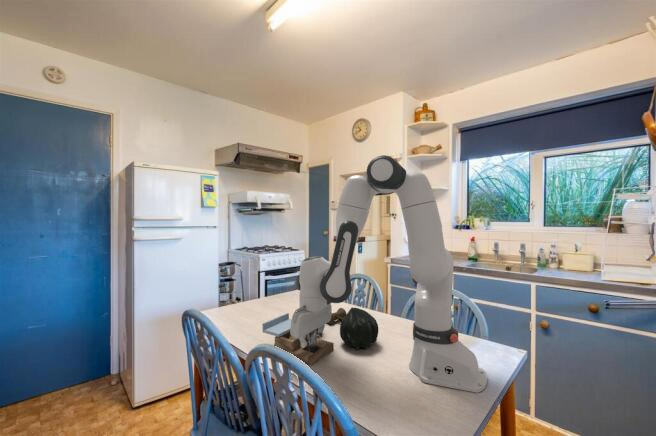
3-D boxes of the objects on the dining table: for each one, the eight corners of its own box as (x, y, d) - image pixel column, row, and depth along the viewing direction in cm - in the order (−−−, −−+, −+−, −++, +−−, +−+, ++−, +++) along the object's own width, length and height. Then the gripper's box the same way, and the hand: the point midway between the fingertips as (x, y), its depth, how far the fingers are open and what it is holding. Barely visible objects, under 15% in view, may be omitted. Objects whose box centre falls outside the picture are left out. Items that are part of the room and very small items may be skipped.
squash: (390, 328, 115) (366, 296, 120) (377, 344, 102) (350, 308, 107) (365, 346, 121) (342, 315, 125) (349, 364, 108) (325, 328, 112)
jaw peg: (318, 354, 105) (318, 329, 105) (313, 358, 102) (313, 332, 102) (310, 352, 107) (310, 327, 107) (305, 356, 104) (305, 330, 104)
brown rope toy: (325, 313, 151) (352, 323, 136) (309, 318, 145) (337, 329, 130) (324, 302, 151) (352, 310, 136) (309, 306, 145) (336, 315, 130)
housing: (333, 349, 109) (333, 333, 109) (311, 365, 97) (311, 347, 97) (299, 339, 118) (299, 324, 118) (274, 353, 106) (274, 336, 106)
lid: (303, 324, 117) (303, 316, 117) (278, 336, 105) (278, 327, 105) (287, 320, 121) (287, 313, 121) (262, 332, 109) (262, 323, 109)
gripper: (301, 312, 94) (301, 355, 94) (334, 297, 111) (334, 334, 111) (285, 308, 97) (285, 351, 97) (320, 294, 115) (320, 330, 115)
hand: (312, 341), depth 104 cm, fingers open, 8 cm apart
